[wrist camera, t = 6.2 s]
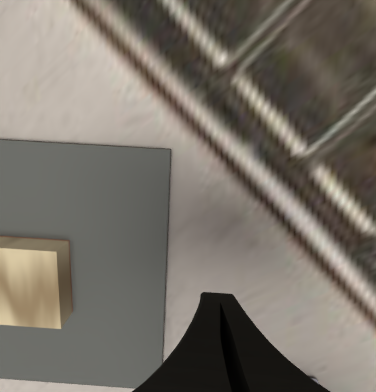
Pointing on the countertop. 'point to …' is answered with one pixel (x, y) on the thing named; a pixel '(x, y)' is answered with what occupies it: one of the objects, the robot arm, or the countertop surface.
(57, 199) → the mat
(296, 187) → the countertop surface
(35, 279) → the tile
